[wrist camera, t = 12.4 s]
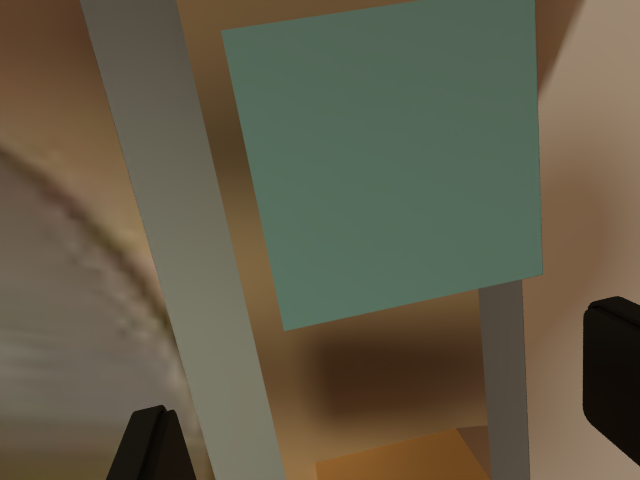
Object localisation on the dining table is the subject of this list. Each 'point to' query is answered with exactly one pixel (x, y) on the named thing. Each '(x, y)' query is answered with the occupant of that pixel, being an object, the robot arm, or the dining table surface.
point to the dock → (219, 260)
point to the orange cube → (408, 461)
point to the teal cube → (392, 152)
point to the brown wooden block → (343, 334)
